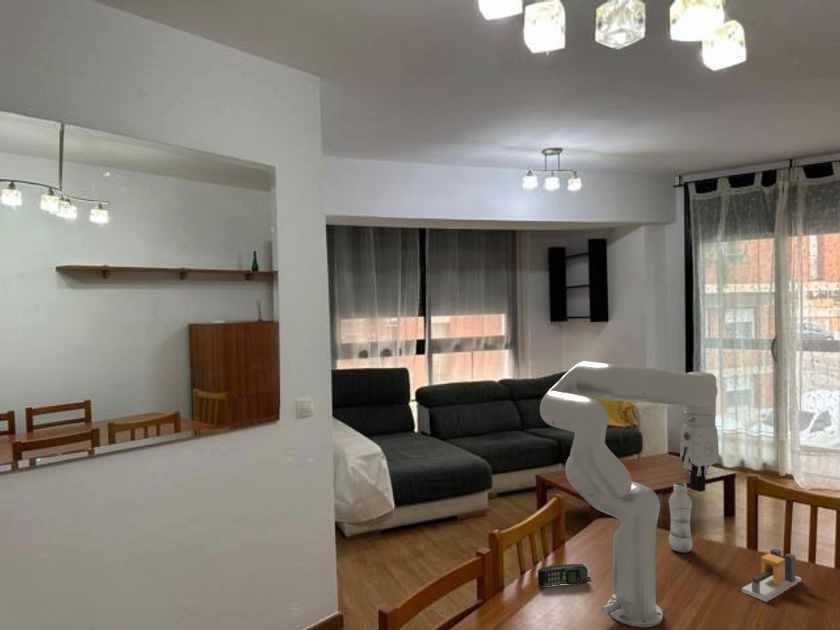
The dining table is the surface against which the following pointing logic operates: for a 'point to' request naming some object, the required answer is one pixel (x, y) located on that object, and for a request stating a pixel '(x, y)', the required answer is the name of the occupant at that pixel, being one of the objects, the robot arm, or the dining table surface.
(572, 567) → the mobile phone
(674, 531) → the plastic bottle
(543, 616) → the dining table surface
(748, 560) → the dining table surface
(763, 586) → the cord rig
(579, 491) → the robot arm
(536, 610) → the dining table surface
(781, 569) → the orange bracket
